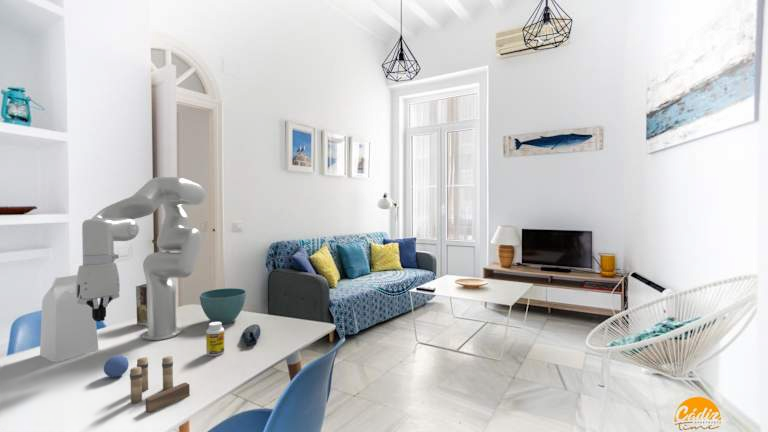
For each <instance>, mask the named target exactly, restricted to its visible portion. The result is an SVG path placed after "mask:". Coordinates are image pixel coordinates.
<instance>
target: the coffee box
mask: <svg viewBox="0 0 768 432" xmlns="http://www.w3.org/2000/svg"><path fill="white" fill-rule="evenodd" d="M135 303H136V306H135V307H136V324H137V325H140V326H146V324H147V323H148V317H147V283H145V284H141V285H136V286H135Z"/></svg>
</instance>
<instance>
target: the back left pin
mask: <svg viewBox="0 0 768 432" xmlns="http://www.w3.org/2000/svg"><path fill="white" fill-rule="evenodd" d="M161 360H162V362H161V368H162V391H165V390H168V389H170V388H173V387H174V370H173V369H174V368H173V367H174V361H173V356H165V357H162V359H161Z"/></svg>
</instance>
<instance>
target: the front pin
mask: <svg viewBox="0 0 768 432" xmlns="http://www.w3.org/2000/svg"><path fill="white" fill-rule="evenodd" d="M148 358H149V357H146V356H145V357H139V358H138V359H136V367H141V370H142V393H143V392H147V391H148V390H149V361H148ZM146 390H147V391H146Z"/></svg>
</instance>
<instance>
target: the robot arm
mask: <svg viewBox="0 0 768 432" xmlns="http://www.w3.org/2000/svg"><path fill="white" fill-rule="evenodd" d="M205 198H206V192H205V189H204V188H203V187H202V186H201V185H200V184H199V183H196V182H194V181H193V180H192V181H191V180H189V179H186V178H184V177H179V176H160V177H159V176H158V177H157V176H156V177H154V178H151V179H149V181H147V182H146V183H145V184H144V185H143V186H142V187H141V188H139V189H138V190H137V191H136V192H135V193H134V194H133V195H131V196H130V197H127V198H124V199H122V200H120V201H117V202H115V203H111V204H109V205H107V206H105V207H104V208H102V209H101V210H99V211H98V212H97V213H95V215H94V216H92V218H90V219H86V220H84V221H83V222H82V223H81V224H82V225H81V228H82V230H81V231H82V232H81V233H82V234H81V235H82V237H81V239H82V242H81V243H82V265H79V266H78V269H77V270H78V271H77V274H76V275H77V281H76V297H77V298H78V300H77V304H87V305H89V306H90V307H91V308H92V318H93V319H94V321H96V323H97V322H103V321H105V318H106V317H107V307H108V305H109V304H110V302H111V303H112V301H113V300H116V299H119V298H120V290H121V288H120V286H121V284H120V275H119V270H118V265H117V263H116V262H115V260H118V259H119V254H115V252H114V251H115V250H114V249H115V248H114V242H127V241H128V242H129V241H131V240H134V239H135V238H136V237H137V236H138V234H139V233H140V232H139V231H140V228H139V227H140V226H139V224H138V222H137V221H135V220H136V219H141V218H145V217H147V216H150V215H152V214H154V213H155V211H156V210H157V209H158V208H159V207H160V206H161V205H162V207H163V209H164V219H163V222H162V226H161V229H160V231H159V234H158V236H157V239H156V246H157V248H158V249H159V250H161V251H158V252H152V253H150V254H148V255H147V256H146V257H145V258H144V259H143V263H142V267H143V273H144V277H145V280H146V281H145V282H146V283H145V284H147V317H148V323H147V324H146V325H145V327H147V330H146V331H145V332H144V333H143V334H142V337H143V339H145V340H147V341H161V340H165V339H166V340H167V339H170V338H173V337H174V338H175V337H176V336H179V335H180V334H181V332H182V329H181V328H180V327H178V326H177V288H176V285H175V283H174V282H175V281H174V280H173V279H175V278H176V279H182V278H183V279H184V278H188V277H189V276H191V275H192V274H193V272H194V270H195V267H196V264H197V262H198V261H197V260H198V257H199V254H200V251H201V248H202V242H203V239H202V233H201V231H200V230H199V229H197V228H195V227H188V223H189V217H188V213H187V212H186V211H185V210H184V208H183V206H198V205H200V204H202V203H203V202H204V201H205ZM98 300H99V301H98Z"/></svg>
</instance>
